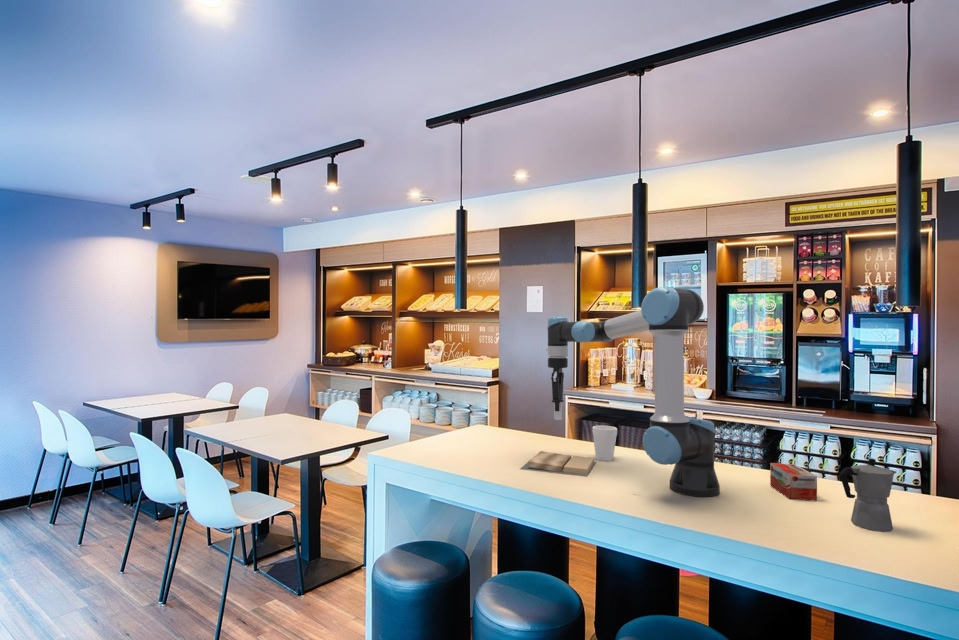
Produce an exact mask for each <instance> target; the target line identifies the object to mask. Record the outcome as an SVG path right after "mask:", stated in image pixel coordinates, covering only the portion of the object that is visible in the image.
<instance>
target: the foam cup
mask: <svg viewBox="0 0 959 640" xmlns="http://www.w3.org/2000/svg"><path fill="white" fill-rule="evenodd" d="M591 431H592V436H593V437H592V438H593V445H594V454H595V455H594V456H595V459H596V460H599V461H605V462H609V461H613V460H614V457H615V456H614V455H615V448H616V447H615V446H616V440H617V436H618V428H617V427H615V426H612V425H611V426H610V425H594V426H592V430H591Z"/></svg>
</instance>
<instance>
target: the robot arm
mask: <svg viewBox="0 0 959 640" xmlns="http://www.w3.org/2000/svg"><path fill="white" fill-rule="evenodd" d="M703 301H704V300H703V299H702V297H701V296H700V295H699V294H698V293H697V292H696V291H694V290H691V289H686V288H677V287H672V286H663V287H655V288H653V289H651V290H650V291H649V292H648V293H647V294H646V295H645V296H644V298H643V299H642V303H641V306H640V307H641V308H640V309H641V310H636V311H633V312H630V313H627V314H623V315H620V316H616V317H613V318H608V319H606V320H603V321H586V320H584V321H583V320H578V321H569V320H568V317H566V316H550V317H549V318H548V320H547V328H546V329H547V348H546V349H545V350H546V351H547V356H548V358H547V367H548V368H549V369H552V370H553V371H552V372H551V377H550V380H551V389H552V390H551V391H552V400H551V403H553V420H556V421H562V420H563V416H562V415H563V413H562V412H563V410H562V409H563V408H562V407H563V403H564V402H565V400H564V397H563V396H564V395H563V394H564V377H565V373H564V372H563V369H567V368H568V366H569V363H568V362H569V361H568V359H569V358H567V357H568V356H569V353H568V352H569V346H568V345H569V343H570V342H571V343H593V342H594V343H610V342H612V341H613V340H615V339H618V338H622V337H627V336H630V335H634V334H639V333H642V332H647V331H648V332H649V333H650V334H651V335H653V342H654V343H653V354H654V355H653V360H654V363H653V365H654V368H653V369H654V413H653V415H652V416H650V417H649V427H648V428H647V429H646V431H645V432H643V435H642V444H643V449H644V452H645V453H646V455H647V456H649V458H650V459H651V460H652V461H653V462H654V463H657V464H659V465H663V466H664V465H665V466H666V465H669V466H672V465H674V468H673V470H672V473H671V475H670V477H669V478H670V479H669V489H670V490H672V491H674V492H675V493H679V494H681V495H686V496H693V497H702V498H703V497H705V498H708V497H715V496H718V495H720V493H721V492H720V491H721V489H720V488H721V487H720V483H719V480H718V476H717V473H716V470H715V443H716V441H715V438H716V437H715V436H716V432H715V423H714V422H713V421H711V420H707V419H701V418H694V417H687V416H686V414H685V376H684V375H685V373H684V371H685V370H684V369H685V368H684V367H685V366H684V364H685V363H684V336H685V335H686V334H687V333H688V332H689V326H690V325H693V324H695V323H696V322H697V321H699V320H700V319H701V317H702V315H703V313H704V307H705V305H704V302H703Z"/></svg>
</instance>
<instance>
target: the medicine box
mask: <svg viewBox="0 0 959 640" xmlns="http://www.w3.org/2000/svg"><path fill="white" fill-rule="evenodd" d="M769 464H770V467H769V468H770V472H769V473H770V476H769V477H770V479H769V486H770V485H771V486H772V487H773V489H774V488H775V489H776V490H775V489H774V490H775V491H777V492H778V491H779V492H778V493H780V494H781V493H782V494H783V495H782V494H781V495H782V496H784V495H785V496H786V498H787V497H788V498H789V499H788V498H787V499H788V500H791V499H800V500H803V499H805V500H804V501H811V500H815V502H817V500H818V499H817V497H818V476H817V475H816V474H813V473H811V472H810V471H808V470H807V469H804V468H803V467H801V466H799V465H796V464H794V463H780V462H770V463H769ZM771 486H770V487H771ZM772 487H771V488H772ZM785 496H784V497H785Z"/></svg>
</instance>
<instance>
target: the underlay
mask: <svg viewBox="0 0 959 640" xmlns="http://www.w3.org/2000/svg"><path fill="white" fill-rule="evenodd" d="M595 459H596V457H591V456H581V455H572V456H571V459H570V460H569V461H568V463H567V464H566V465H565V466H564V469H563V471H562V472H557V471H550V470H544V469H538V468H531V467H528V465H529V461H530V460H531V459H529V460H528V461H527V462H526V463H525V464H523V466H522V467H520V468H519V470H524V471H530V472H540V473H551V474H559V475H569V476H576V477H577V476H578V477H589V476H590V474H591V472H592V470H593V469H594V466H596V464H597V462H596V461H595Z"/></svg>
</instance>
